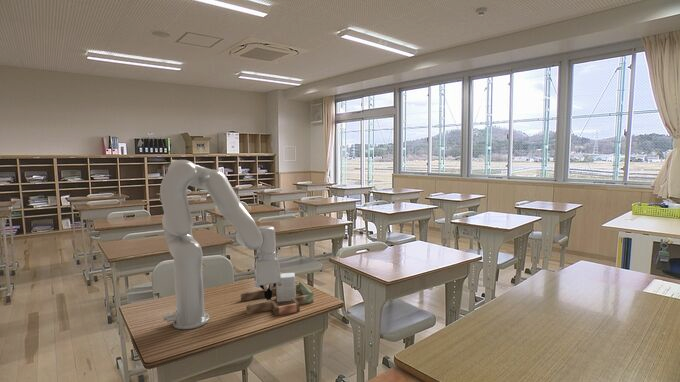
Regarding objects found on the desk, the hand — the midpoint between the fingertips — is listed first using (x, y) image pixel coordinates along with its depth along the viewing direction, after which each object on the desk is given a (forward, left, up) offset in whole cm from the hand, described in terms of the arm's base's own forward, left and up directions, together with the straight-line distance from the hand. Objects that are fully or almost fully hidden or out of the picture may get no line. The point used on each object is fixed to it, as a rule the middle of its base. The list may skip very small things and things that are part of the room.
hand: (268, 298), depth 154 cm
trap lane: (+3, 0, -2) cm, 3 cm away
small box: (+8, 0, -2) cm, 8 cm away
